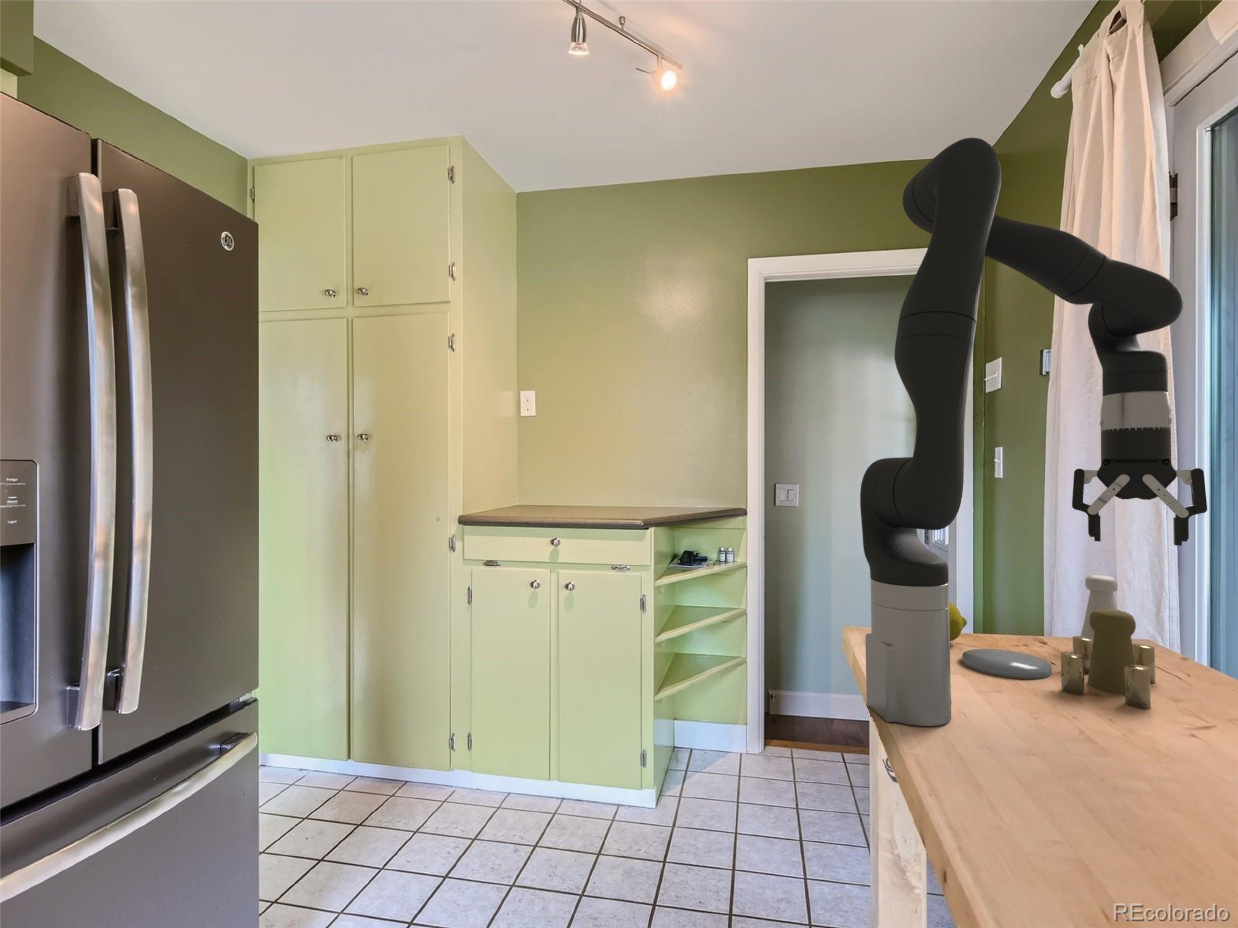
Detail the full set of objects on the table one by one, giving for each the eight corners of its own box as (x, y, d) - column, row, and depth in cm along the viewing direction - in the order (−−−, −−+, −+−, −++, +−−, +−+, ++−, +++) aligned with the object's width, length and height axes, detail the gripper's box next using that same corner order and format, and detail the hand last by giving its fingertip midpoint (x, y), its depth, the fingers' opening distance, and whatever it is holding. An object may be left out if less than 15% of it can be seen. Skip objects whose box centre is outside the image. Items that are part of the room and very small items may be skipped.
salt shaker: (1127, 660, 99) (1126, 580, 99) (1083, 655, 102) (1081, 577, 102) (1121, 651, 104) (1120, 574, 104) (1079, 646, 107) (1077, 572, 107)
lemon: (967, 640, 112) (966, 596, 112) (967, 651, 105) (966, 605, 105) (902, 633, 117) (901, 591, 117) (898, 643, 110) (897, 599, 110)
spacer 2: (1082, 673, 93) (1081, 640, 93) (1069, 668, 96) (1068, 636, 96) (1098, 673, 93) (1098, 640, 93) (1085, 667, 96) (1084, 635, 96)
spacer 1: (1071, 694, 85) (1070, 658, 85) (1057, 688, 87) (1056, 653, 87) (1089, 694, 85) (1088, 658, 85) (1074, 687, 87) (1074, 652, 87)
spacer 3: (1142, 683, 89) (1142, 648, 89) (1127, 677, 91) (1126, 643, 91) (1160, 682, 89) (1159, 648, 89) (1144, 676, 91) (1143, 643, 91)
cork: (1151, 696, 84) (1149, 615, 84) (1101, 693, 85) (1099, 614, 85) (1124, 680, 90) (1123, 606, 90) (1078, 678, 91) (1076, 604, 91)
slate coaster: (992, 679, 91) (992, 673, 91) (947, 655, 103) (947, 649, 103) (1071, 677, 91) (1071, 671, 91) (1017, 653, 103) (1016, 647, 103)
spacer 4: (1136, 709, 79) (1135, 670, 79) (1119, 701, 82) (1118, 664, 82) (1156, 708, 79) (1155, 670, 79) (1138, 701, 82) (1137, 663, 82)
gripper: (1201, 426, 84) (1203, 544, 84) (1072, 430, 93) (1073, 537, 93) (1208, 422, 78) (1210, 549, 78) (1070, 427, 87) (1071, 541, 87)
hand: (1136, 542), depth 85 cm, fingers open, 8 cm apart
